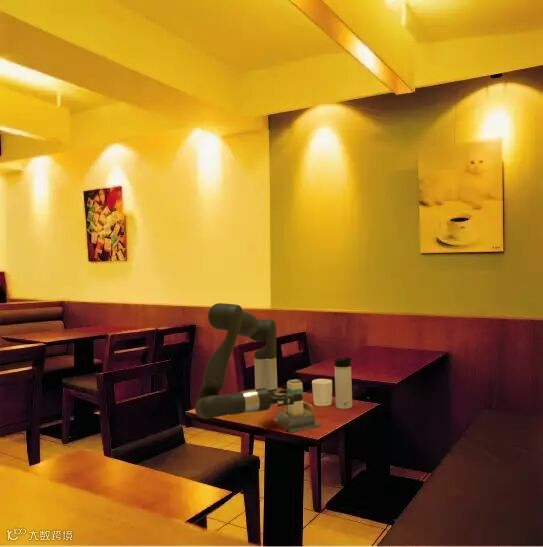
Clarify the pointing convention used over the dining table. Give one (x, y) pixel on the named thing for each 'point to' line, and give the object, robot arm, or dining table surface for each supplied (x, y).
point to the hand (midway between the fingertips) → (296, 394)
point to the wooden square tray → (304, 407)
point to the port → (296, 421)
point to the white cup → (322, 392)
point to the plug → (293, 389)
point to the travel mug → (343, 383)
